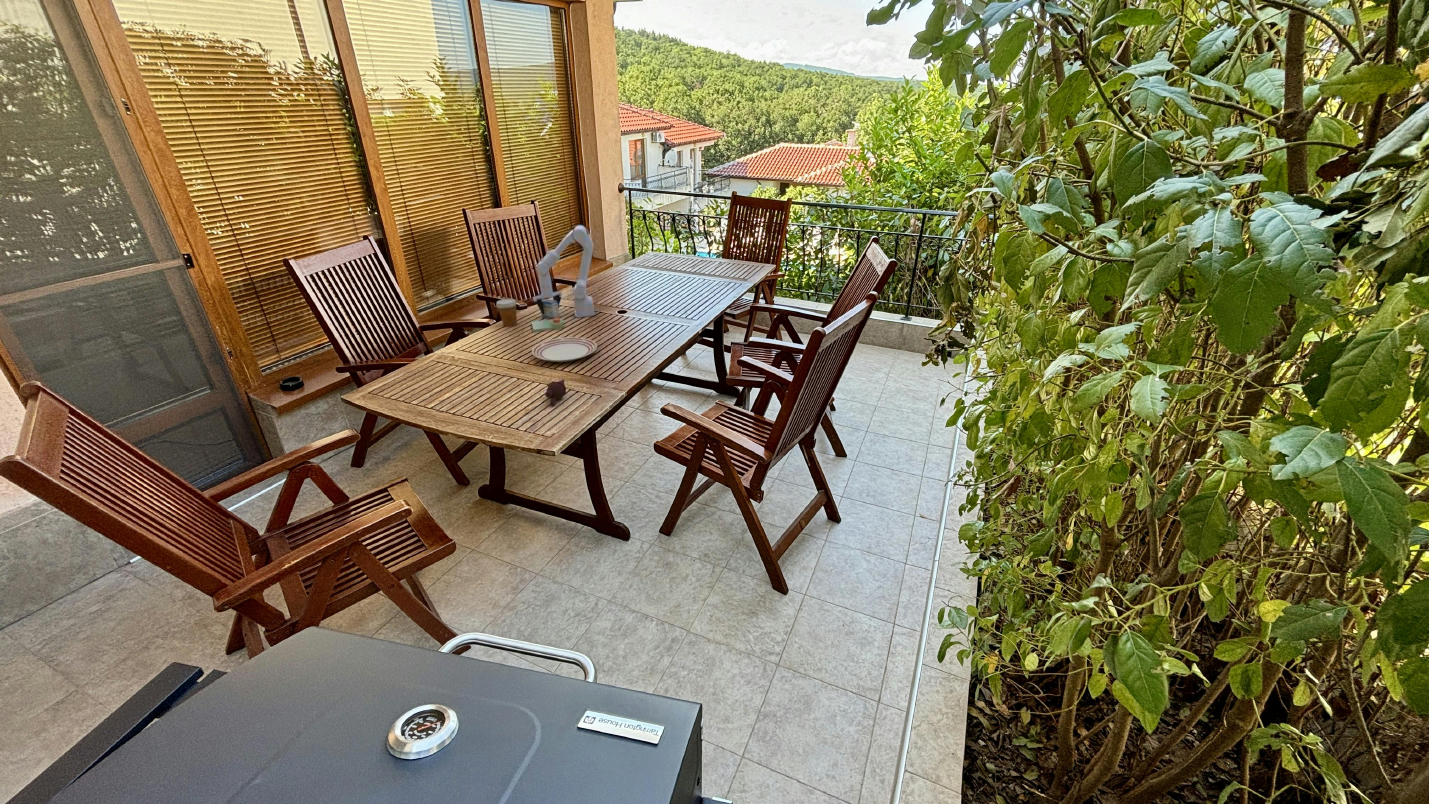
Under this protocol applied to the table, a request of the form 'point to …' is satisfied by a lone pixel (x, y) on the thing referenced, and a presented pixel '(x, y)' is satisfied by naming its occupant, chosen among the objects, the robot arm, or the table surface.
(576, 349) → the dinner plate
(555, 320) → the power button
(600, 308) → the table surface
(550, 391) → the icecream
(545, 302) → the medicine box
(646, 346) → the table surface
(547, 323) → the scale
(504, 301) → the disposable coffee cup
